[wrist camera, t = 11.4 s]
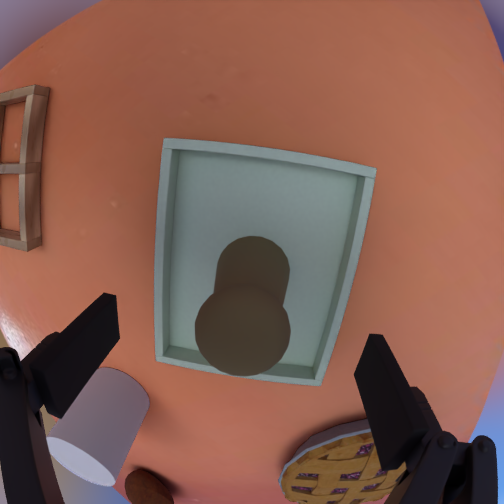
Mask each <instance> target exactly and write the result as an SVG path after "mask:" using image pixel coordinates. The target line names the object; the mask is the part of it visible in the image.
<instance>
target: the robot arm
mask: <svg viewBox="0 0 504 504" xmlns="http://www.w3.org/2000/svg"><path fill="white" fill-rule="evenodd" d="M119 339H120V334H119V324H118V313H117V300H116V295H112V294H108V293H103V294H102V295H101V296H100V297H98V298H97V299H96V300H95V301H94V302H93V303H92V304H91V305H90V306H89V307H88V308H86V309H85V310H84V311H83V312H82V313H81V314H80V315H79V316H78V317H77V318H76V319H75V320H74V321H73V322H72V323H70V324H69V325H68V326H67V327H66V328H65V329H64V330H63V331H62V332H61V333H59V332H54V333H52V334H50V335H48V336H46V337H45V338H44V339H43V340H42V341H41V343H39V344H38V345H37V346H36V348H34V349H33V350H32V351H31V352H30V353H29V354H28V355H27V356H26V357H25V358H24V359H23V360H22V361H20V358H19V356H18V353H17V351H16V350H15V349H13V348H11V347H3V348H0V464H1V471H2V477H3V483H4V489H5V494H6V498H7V503H8V504H65V503H64V501H63V497H62V494H61V491H60V489H59V485H58V482H57V478H56V475H55V471H54V468H53V464H52V460H51V456H50V452H49V448H48V444H47V439H46V434H45V429H44V424H43V419H42V413H41V411H40V408H41V407H42V406H43V404H44V406H45V408H46V410H47V412H48V413H49V414H51V415H53V416H55V417H57V418H59V419H62V418H63V416H64V415H65V413H66V412H67V411H68V409H69V408H70V406H71V405H72V403H73V402H74V401H75V399H76V398H77V396H78V395H79V393H80V392H81V391H82V389H83V388H84V386H85V385H86V384H87V382H88V381H89V380H90V378H91V377H92V375H93V374H94V373H95V371H96V370H97V369H98V367H99V366H100V364H101V363H102V362H103V360H104V359H105V358H106V356H107V355H108V354H109V352H110V351H111V350H112V348H113V347H114V346H115V344H116V343H117V342H118V340H119ZM354 377H355V380H356V383H357V386H358V389H359V393H360V396H361V399H362V402H363V406H364V409H365V412H366V416H367V419H368V423H369V426H370V429H371V433H372V436H373V440H374V444H375V447H376V451H377V455H378V458H379V462H380V466H381V470H382V471H389V470H397V469H398V468H399V467H400V466H401V465H402V464H403V463H404V462H405V465H406V470H405V471H404V472H403V473H402V474H401V475H400V476H399V477H398V478H397V479H396V480H395V482H397V481H398V482H397V484H396V485H395V487H394V488H393V490H392V492H391V493H390V495H389V497H388V498H387V500H386V501H385V503H384V504H498V479H497V478H498V476H497V458H496V448H495V444H494V442H493V441H492V440H491V439H490V438H488V437H487V436H484V435H480V436H477V437H476V438H475V439H474V440H473V442H472V443H464V442H458V441H457V439H456V438H455V436H454V435H452V434H451V433H449V432H446V431H442V429H441V427H440V425H439V423H438V421H437V419H436V417H435V415H434V413H433V411H432V409H431V407H430V405H429V403H428V401H427V399H426V397H425V395H424V393H423V392H422V391H421V390H419V389H418V388H417V387H410V386H409V384H408V382H407V380H406V378H405V376H404V374H403V372H402V370H401V368H400V366H399V364H398V363H397V361H396V359H395V357H394V355H393V353H392V351H391V349H390V347H389V346H388V344H387V342H386V340H385V338H384V336H383V335H381V334H369V337H368V339H367V342H366V345H365V347H364V350H363V353H362V355H361V358H360V360H359V363H358V365H357V368H356V370H355V373H354Z"/></svg>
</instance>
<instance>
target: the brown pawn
mask: <svg viewBox="0 0 504 504" xmlns="http://www.w3.org/2000/svg"><path fill="white" fill-rule="evenodd" d="M289 275H290V266H289V262H288V258H287V256H286V255H285V253H284V252H283V250H282V248H280V247H279V246H278V245H277V244H276V243H274V242H273V241H271V240H269V239H266V238H264V237H260V236H246V237H242V238H238V239H236V240H235V241H233V242H231V243H230V244H228V245H227V246H226V248H225V249H224V250H223V251H222V252H221V255H220V257H219V260H218V263H217V269H216V276H215V284H214V291H213V294H212V295H210V296H209V297H208V299H207V300H206V301H205V302H204V303H203V304H202V306H201V307H200V309H199V312H198V315H197V317H196V320H195V341H196V344H197V346H198V348H199V351H200V353H201V354H202V355H203V357H204V358H205V359H206V360H207V361H208V363H209V364H210V365H212V366H213V367H215V368H216V369H218V370H219V371H221V372H224V373H227V374H229V375H233V376H243V377H246V376H253V375H258V374H260V373H263V372H265V371H267V370H269V369H270V368H272V367H273V366H274V365H275V364H276V363H278V362H279V361H280V360H281V359H282V357H283V355H284V353H285V352H286V350H287V348H288V345H289V341H290V334H291V328H290V322H289V318H288V314H287V312H286V310H285V309H284V307H283V304H284V299H285V295H286V291H287V286H288V282H289Z"/></svg>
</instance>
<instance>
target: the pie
mask: <svg viewBox="0 0 504 504" xmlns="http://www.w3.org/2000/svg"><path fill="white" fill-rule="evenodd" d="M405 470H406V465H405V462H404V463H403V464H402V465H401V466H400V467H399V468H398V469H397V470H389V471H382V470H381V466H380V462H379V458H378V455H377V451H376V447H375V444H374V440H373V436H372V433H371V429H370V426H369V423H368V419H364V420H359V421H355V422H351V423H346V424H341V425H337V426H335V427H333V428H330V429H328V430H325V431H323V432H320V433H318V434H315V435H313V436H312V437H311V438H310V439H308V440H307V441H306V442H305V443H304V444H303V445H302V446H300V447H299V448H298V449H297V451H296V453H295V454H294V456H293V458H292V459H291V461H289V462H288V463H287V464H285V466H284V468H283V470H282V473H281V475H280V477H279V479H278V482H279V484H280V487H281V490H282V492H283V494H284V495H285V498H286V499H288V500H289V501H292V502H298V503H299V504H360V503H363V502H367V501H373V502H374V501H377V500H379V499H382V498H383V497H384V496H385V495H387V494H389V493H391V492H392V490H393V488H394V487H395V485H396V484H397V482H398V481H397V482H395V480H396V479H397V478H398V477H399V476H400V475H401V474H402V473H403V472H404V471H405Z"/></svg>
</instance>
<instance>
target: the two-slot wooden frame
mask: <svg viewBox="0 0 504 504" xmlns="http://www.w3.org/2000/svg"><path fill="white" fill-rule="evenodd" d="M49 90H50V88H49V87H44V86H40V85H31V86H27V87H23V88H19V89H15V90H11V91H8V92H4V93H1V94H0V149H1V137H2V127H3V119H4V112H5V105H10V104H14V103H18V102H23V101H26V105H25V112H24V119H23V127H22V137H21V148H20V162H13V163H0V174H19V220H20V232H17V231H11V230H6V229H1V228H0V245H3V246H7V247H11V248H15V249H19V250H23V251H27V252H28V251H30V250H32V249H34V248H36V247H38V246H40V245H42V242H41V227H40V171H41V154H42V142H43V132H44V123H45V115H46V109H47V102H48V96H49Z"/></svg>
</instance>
